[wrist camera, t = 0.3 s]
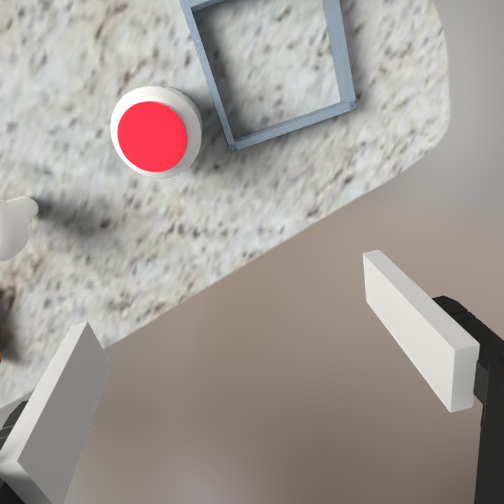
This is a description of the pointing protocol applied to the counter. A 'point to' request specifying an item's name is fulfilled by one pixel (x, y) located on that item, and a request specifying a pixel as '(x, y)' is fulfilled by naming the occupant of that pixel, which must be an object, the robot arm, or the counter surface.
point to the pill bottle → (157, 131)
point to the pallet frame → (191, 3)
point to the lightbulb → (15, 225)
